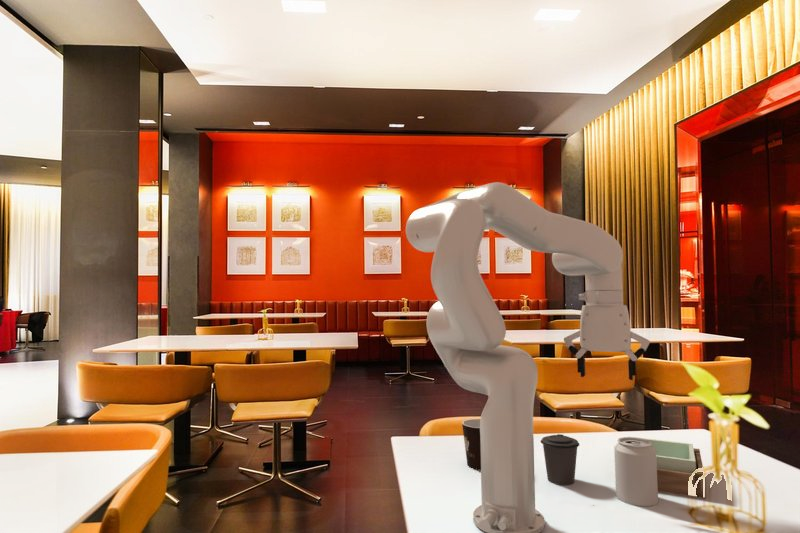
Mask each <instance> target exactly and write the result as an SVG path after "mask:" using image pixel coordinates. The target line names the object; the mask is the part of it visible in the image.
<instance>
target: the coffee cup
mask: <svg viewBox="0 0 800 533" xmlns="http://www.w3.org/2000/svg"><path fill="white" fill-rule="evenodd" d="M540 443H541V444H542V448H543V453H544V454H543V455H544V462H545V463H544V464H545V470H546V476H547V477H546V478H547V481H548V482H549V483H551V484H554V485H558V486H571V485H573V484H574V483H575V478H576V477H575V476H576V467H577V456H578V447H580V443H579V441H578V440H577V439H576V438H574V437H570V436H567V435H564V434H559V433H558V434H551V435H547V436H543V437H542V438H541V440H540Z"/></svg>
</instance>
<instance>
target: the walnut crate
mask: <svg viewBox="0 0 800 533" xmlns="http://www.w3.org/2000/svg"><path fill="white" fill-rule="evenodd" d="M693 449H694V455H695V461H696V469H698V468H702V467H703V468H704V466H703V465H704V464H703V460H702V455H701V450H700V448H694V447H693ZM694 471H695V470H694ZM691 475H692V473H685V472H678V471H671V470H664V469H657V486H658V492H660V493H661V492H662V493H668V494H673V495H681V496H686V497H687V496H688V481H689V477H690V476H691ZM702 475H703V472H697V473H695V475H694V476H693V480H692V484H693V487H694V485H695V483H696V481H697V480H698V478H699V477H701V476H702ZM706 488H707V487H706V486H705V490H707V489H706ZM705 492H706V491H705ZM706 493H707V492H706ZM696 495H697V497H696V498H700V499H704V498H703V479H701V480H699V482H698V484H697V488H696ZM688 497H689V496H688Z"/></svg>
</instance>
